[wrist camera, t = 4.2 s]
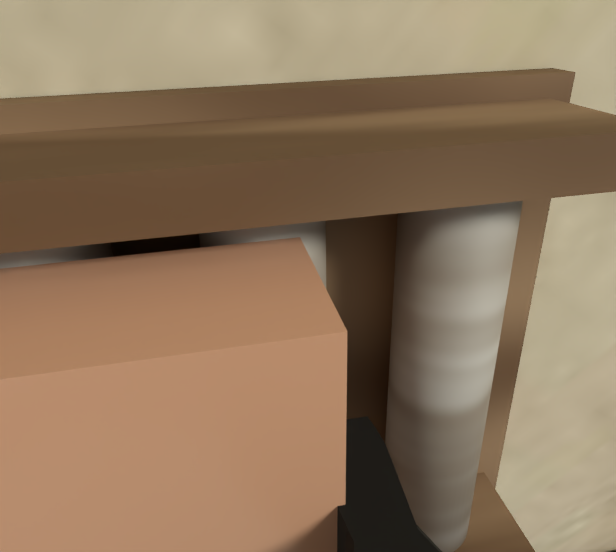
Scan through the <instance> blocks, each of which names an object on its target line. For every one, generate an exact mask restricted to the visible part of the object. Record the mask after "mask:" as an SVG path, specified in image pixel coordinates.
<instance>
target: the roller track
mask: <svg viewBox="0 0 616 552" xmlns="http://www.w3.org/2000/svg"><path fill="white" fill-rule="evenodd" d="M574 77H575V72H571V71H565V70H560V69H554V68H548V69H530V70H512V71H494V72H476V73H458V74H440V75H422V76H403V77H385V78H367V79H349V80H331V81H313V82H295V83H277V84H259V85H241V86H222V87H204V88H186V89H168V90H150V91H132V92H114V93H96V94H78V95H60V96H41V97H23V98H5V99H0V269H1V268H10V267H20V266H30V265H39V264H49V263H58V262H68V261H77V260H87V259H96V258H106V257H115V256H125V255H134V254H144V253H153V252H163V251H173V250H182V249H192V248H201V247H211V246H220V245H230V244H239V243H249V242H258V241H268V240H277V239H287V238H296V237H300V238H301V240H302V242H303V244H304V246H305V248H306V250H307V252H308V254H309V256H310V258H311V260H312V262H313V264H314V266H315V268H316V270H317V272H318V274H319V276H320V278H321V280H322V282H323V284H324V286H325V288H326V290H327V292H328V294H329V296H330V298H331V300H332V302H333V304H334V306H335V308H336V310H337V312H338V314H339V316H340V318H341V320H342V322H343V324H344V326H345V328H346V330H347V413H346V419H353V418H359V417H366V416H368V417H369V419H370V420H371V422H372V423H373V425H374V426H375V428H376V429H377V431H378V432H379V434H380V436H381V437H382V439H383V441H384V443H385V445H386V447H387V450H388V452H389V455H390V457H391V460H392V462H393V465H394V467H395V470H396V472H397V475H398V478H399V480H400V483H401V486H402V488H403V491H404V493H405V496H406V499H407V501H408V504H409V507H410V509H411V512H412V514H413V517H414V520H415V522H416V524H417V525H418V527H419V528H420V529H421V530H422V531H423V532H424V533H425V534H426V535H427V536H428V537H429V538H430V539H431V540H432V541H433V542H434V544H435V545H436V546H437V547H438V548H439V549H440V550H441V551H442V552H535V551H534V549H533V548H532V546H531V545H530V543H529V541H528V540H527V538H526V537H525V535H524V534H523V532H522V531H521V529H520V527H519V526H518V524H517V523H516V521H515V520H514V518H513V517H512V515H511V513H510V512H509V510H508V509H507V507H506V506H505V504H504V503H503V501H502V499H501V498H500V496H499V495H498V493H497V492H496V490H495V486H496V481H497V476H498V470H499V465H500V460H501V455H502V450H503V445H504V439H505V434H506V429H507V424H508V419H509V413H510V408H511V403H512V398H513V393H514V388H515V382H516V377H517V372H518V367H519V362H520V356H521V351H522V346H523V341H524V336H525V331H526V325H527V320H528V315H529V310H530V305H531V299H532V294H533V289H534V284H535V279H536V274H537V268H538V263H539V258H540V253H541V248H542V242H543V237H544V232H545V227H546V222H547V217H548V211H549V206H550V201H551V198H555V197H565V196H575V195H585V194H594V193H604V192H614V191H616V115H613V114H609V113H605V112H601V111H598V110H594V109H590V108H586V107H582V106H578V105H574V104H571V103H569V102H570V97H571V92H572V87H573V82H574Z"/></svg>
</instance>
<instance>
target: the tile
mask: <svg viewBox="0 0 616 552" xmlns="http://www.w3.org/2000/svg"><path fill="white" fill-rule="evenodd" d="M346 413H347V330H346V328H345V326H344V324H343V322H342V320H341V318H340V316H339V314H338V312H337V310H336V308H335V306H334V304H333V302H332V300H331V298H330V296H329V294H328V292H327V290H326V288H325V286H324V284H323V282H322V280H321V278H320V276H319V274H318V272H317V270H316V268H315V266H314V264H313V262H312V260H311V258H310V256H309V254H308V252H307V250H306V248H305V246H304V244H303V242H302V240H301V238H300V237H296V238H287V239H277V240H268V241H258V242H249V243H239V244H230V245H220V246H211V247H201V248H192V249H182V250H173V251H163V252H153V253H144V254H134V255H125V256H115V257H106V258H96V259H87V260H77V261H68V262H58V263H49V264H39V265H30V266H20V267H10V268H1V269H0V552H337V510H338V506H341V505H345V500H346Z"/></svg>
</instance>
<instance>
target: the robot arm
mask: <svg viewBox="0 0 616 552" xmlns="http://www.w3.org/2000/svg"><path fill="white" fill-rule="evenodd" d="M337 552H442V551H441V550H440V549H439V548H438V547H437V546H436V545H435V544H434V542H433V541H432V540H431V539H430V538H429V537H428V536H427V535H426V534H425V533H424V532H423V531H422V530H421V529H420V528H419V527H418V525H417V524H416V522H415V520H414V517H413V514H412V512H411V509H410V507H409V504H408V501H407V499H406V496H405V493H404V491H403V488H402V486H401V483H400V480H399V478H398V475H397V472H396V470H395V467H394V465H393V462H392V460H391V457H390V455H389V452H388V450H387V447H386V445H385V443H384V441H383V439H382V437H381V436H380V434H379V432H378V431H377V429H376V428H375V426H374V425H373V423H372V422H371V420H370V419H369V417H368V416H366V417H359V418H353V419H346V500H345V505H341V506H338V510H337Z"/></svg>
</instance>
